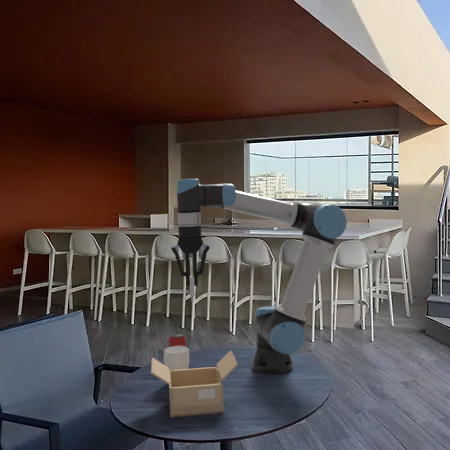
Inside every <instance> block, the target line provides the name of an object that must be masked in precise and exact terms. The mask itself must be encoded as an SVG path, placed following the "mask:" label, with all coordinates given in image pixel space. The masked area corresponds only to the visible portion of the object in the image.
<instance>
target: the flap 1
mask: <svg viewBox="0 0 450 450" xmlns="http://www.w3.org/2000/svg"><path fill="white" fill-rule="evenodd" d="M150 363H151V365H150V374H151V375H153V376H155V377H156V378H157V379H159V380H160V381H163V382H164V383H166V384H167V385H169V384H170V377H169V368H168V367H167V366H165V364H164V363H162V362H160V361H159V360H157V359H156V358H155V357H151V362H150Z"/></svg>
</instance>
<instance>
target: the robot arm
mask: <svg viewBox="0 0 450 450" xmlns="http://www.w3.org/2000/svg"><path fill="white" fill-rule="evenodd" d="M176 203H177V225H179V227H177V228H178V231H177V232H178V239H177V244H175V245H174V246H172V247H171V251H172V253H173V254H174V256H175V259H176V264H177V266H178V269H179V274H180V276H184V277H185V285H186V287H189V297H190V298H191V297H195V295H196V294H195V293H196V292H195V287H198V286H199V284H198V283H199V282H198V281H199V280H198V279H199V278H198V277H199V276H200V275H203V274H204V269H205V263H206V258H207V254H208V252H209V250H210V248H211V247H210V245H208V244H206V243H204V241H203V239H202V226H201V223H202V221H201V220H202V219H201V214H202V213H201V208H207V207H212V208H213V207H214V208H218V209H223V210H228V211H233V212H237V213H241V214H246V215H250V216H253V217H254V216H255V217H259V218H263V219H265V220H266V219H267V220H271V221H276V222H280V223H284V224H286V226H287V227H289V228H293V229H296V230H300V231H302V235H301V237H302V238H303V243H302V247H301V249H300V251H299V255H298V256H297V261H296V262H295V265H294V268H293V271H292V274H291V276H290V279H289V280H288V281H289V282H288V285H287V287H286V289H285V293H284V295H283V298H282V301H281V303H280V305H277V306H276V305H275V306H274V305H273V306H272V305H271V306H269V305H268V306H262V307H261V306H260V307H258V308H256V310H255V315H254V318H255V343H256V345H255V351H254V355H253V359H252V362H251V363H252V364H251V365H252V370H254V371H255V372H257V373H260V374H266V375H278V374H285V373H288V372H290V371H291V370H293V367H294V365H293V364H294V363H293V360H292V356H291V354H294V353H296V352H298V351H299V350H300V349H301V348H302V347H303V345H304V343H305V340H306V334H305V330H304V328H305V325H306V322H307V318H306V316H305V311H306V309H307V306H308V304H309V301H310V298H311V296H312V293H313V291H314V287H315V284H316V283H317V279H318V276H319V274H320V271H321V268H322V265H323V262H324V260H325V257H326V255H327V252H328V250H329V249H331V248H333V247H334V246H335V244H336V240H337V238H339V237H341V236H342V235H343V234H344V232H345V230H346V229H347V226H348V225H347V223H348V222H347V221H348V220H347V216H346V213H345V212H344V210H343V209H342V208H341V207H339V206H338V205H336V204H331V203H329V202H325V203H319V202H317V203H307V202H306V203H304V202H297V201H292V202H291V203H290V202H286V201H283V200H278V199H273V198H269V197H266V196H265V197H264V196H261V195H257V194H252V193H248V192H244V191H240V190H236V187H235V185H234V184H233V183H211V184H209V183H207V184H201V183H200V179H199V178H181V179H179V180H178V181H176ZM179 248H180V249H179ZM200 249H201V250H202V253H201V258H200V263H199V268H198V257H197V255H198V252H199V250H200ZM180 250H181V251H182V252H183V253H184V265H185V266H184V267H185V270H184V267H183V265H182V261H181V258H180V255H179V251H180ZM190 254H192V271H193V274H192V275H191V274H190Z"/></svg>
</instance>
